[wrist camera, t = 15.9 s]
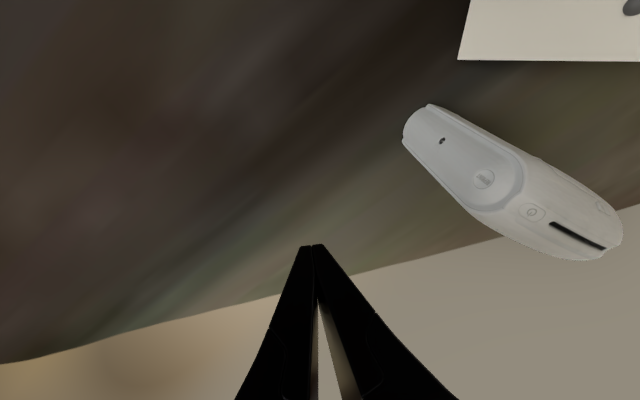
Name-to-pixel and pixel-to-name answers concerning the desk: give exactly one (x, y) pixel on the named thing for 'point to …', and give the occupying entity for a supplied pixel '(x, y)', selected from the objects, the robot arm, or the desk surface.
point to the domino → (552, 30)
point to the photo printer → (512, 188)
